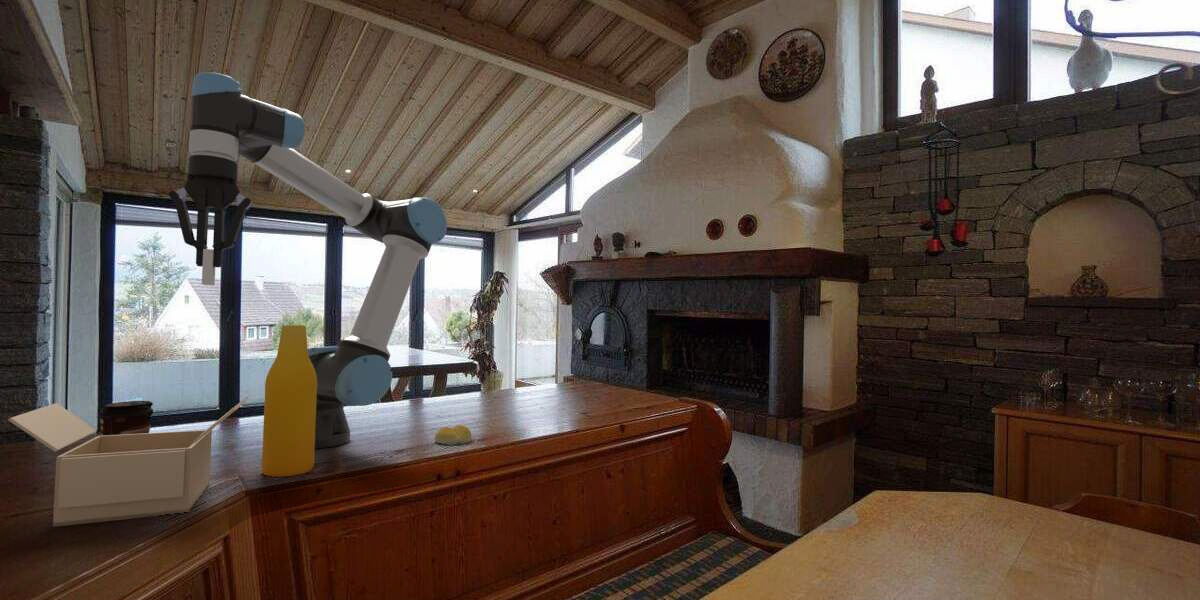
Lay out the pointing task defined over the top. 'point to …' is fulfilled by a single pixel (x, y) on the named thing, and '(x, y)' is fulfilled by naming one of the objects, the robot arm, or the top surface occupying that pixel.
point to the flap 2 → (220, 420)
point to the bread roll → (453, 435)
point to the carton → (131, 477)
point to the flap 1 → (53, 426)
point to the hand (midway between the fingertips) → (208, 284)
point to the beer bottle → (290, 408)
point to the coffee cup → (126, 418)
